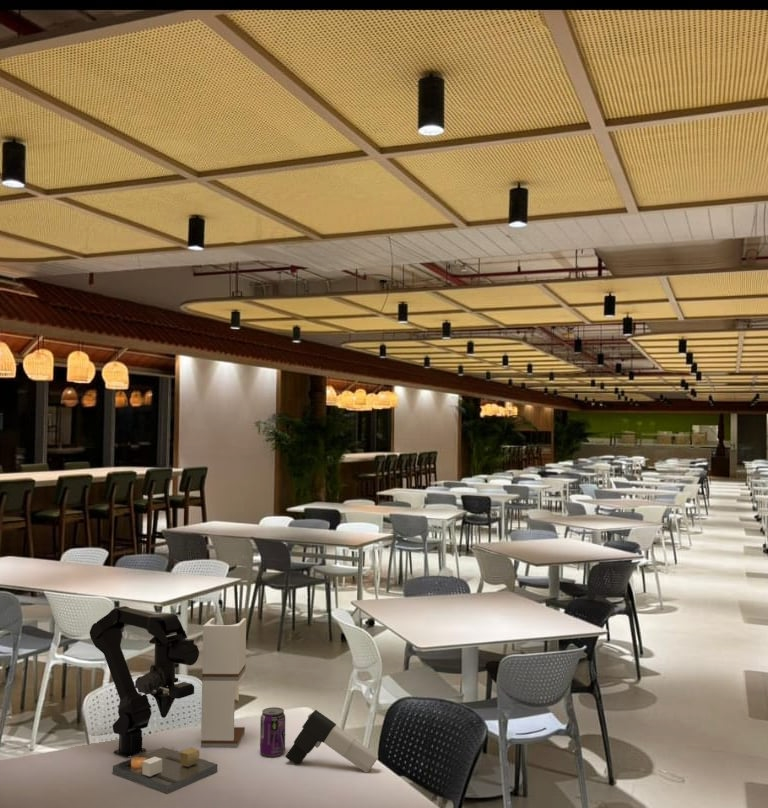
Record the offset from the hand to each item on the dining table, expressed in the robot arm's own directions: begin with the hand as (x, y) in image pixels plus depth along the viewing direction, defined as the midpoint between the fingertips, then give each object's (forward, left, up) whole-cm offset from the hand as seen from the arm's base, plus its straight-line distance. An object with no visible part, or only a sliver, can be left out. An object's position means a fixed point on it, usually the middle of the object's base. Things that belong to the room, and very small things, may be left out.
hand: (163, 717), depth 221 cm
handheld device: (+41, +24, -12) cm, 49 cm away
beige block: (+9, -11, -10) cm, 17 cm away
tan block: (+12, -1, -10) cm, 15 cm away
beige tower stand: (+2, +21, -12) cm, 24 cm away
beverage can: (+21, +22, -12) cm, 33 cm away
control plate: (+7, -5, -12) cm, 15 cm away
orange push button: (+1, -9, -12) cm, 15 cm away
